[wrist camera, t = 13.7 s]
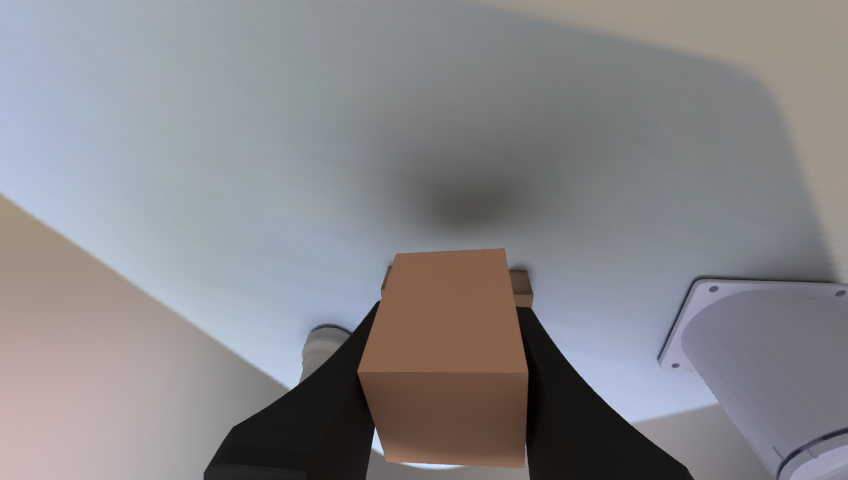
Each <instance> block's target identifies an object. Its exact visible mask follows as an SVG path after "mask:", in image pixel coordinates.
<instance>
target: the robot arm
mask: <svg viewBox="0 0 848 480" xmlns="http://www.w3.org/2000/svg"><path fill="white" fill-rule="evenodd" d="M712 286H714V287H712ZM711 287H712V288H711ZM379 304H380V301H378V302H377V303H376V304H375V305H374V307H373V308H372V309H371V311H370V312H369V313H368V314H367V316H366V317H365V318H364V320H363V321H362V322H361V323H360V325H359V326H358V327H357V328H356V329H355V331H354V332H353V333H352V334H351V335H350V336H349V338H348V339H347V340H346V341H345V342H344V343H343V344H342V345H341V346H340V347H339V348H338V349H337V350H336V352H335V353H334V354H333V355H332V356H331V357H330V358H329V359H327V360H326V361H325V362H324V363H323V364H322V365H321V366H320V367H319V368H318V369H317V370H316V371H314V372H313V373H312V374H311V375H310V376H308V377H307V378H306V379H305V380H304V381H302V382H301V383H300V384H299V385H297V386H296V387H295V388H293V389H292V390H291V391H289V392H288V393H287V394H285V395H284V396H282V397H281V398H280V399H278V400H277V401H275V402H274V403H272V404H271V405H269V406H268V407H266V408H265V409H263V410H261V411H260V412H258V413H257V414H255V415H253V416H251V417H250V418H248V419H246V420H245V421H243V422H241V423H239V424H238V425H236V426H234V427H233V428H232V429H231V431H230V432H229V434H228V435H227V436H226V438H225V439H224V441H223V442H222V444H221V446H220V447H219V449H218V450H217V452H216V454H215V456H214V457H213V459H212V460H211V462H210V464H209V465H208V467H207V469H206V470H205V472H204V480H366V474H367V468H368V462H369V457H370V451H371V446H372V441H373V435H374V430H375V424H374V421H373V418H372V415H371V412H370V409H369V406H368V403H367V400H366V397H365V394H364V391H363V388H362V385H361V382H360V379H359V376H358V373H357V371H358V368H359V365H360V362H361V359H362V356H363V353H364V350H365V347H366V344H367V341H368V338H369V335H370V332H371V329H372V326H373V323H374V320H375V317H376V314H377V310H378V307H379ZM516 311H517V317H518V322H519V327H520V332H521V337H522V342H523V348H524V353H525V358H526V363H527V368H528V394H527V419H526V449H527V457H528V466H529V476H530V480H694V479H693V477H692V476H691V474H690V473H689V471H688V469H687V468H686V467H685V466H684V465H682V464H681V463H680V462H678V461H677V460H676V459H674V458H673V457H672V456H670V455H669V454H667V453H666V452H665V451H663V450H662V449H661V448H659V447H658V446H657V445H655V444H654V443H653V442H651V441H650V440H649V439H647V438H646V437H645V436H644V435H643V434H641V433H640V432H639V431H638V430H636V429H635V428H634V427H633V426H631V425H630V424H629V423H628V422H627V421H626V420H625V419H624V418H622V417H621V416H620V415H619V414H618V413H617V412H616V411H615V410H614V409H612V408H611V407H610V406H609V405H608V404H607V403H606V402H605V401H604V400H603V399H602V398H601V397H600V396H599V395H598V394H597V393H596V392H595V391H594V390H593V389H592V388H591V387H590V386H589V385H588V384H587V383H586V382H585V381H584V379H583V378H582V377H581V376H580V375H579V374H578V373H577V371H576V370H575V369H574V368H573V367H572V366H571V364H570V363H569V362H568V361H567V359H566V358H565V357H564V356H563V354H562V353H561V352H560V350H559V349H558V348H557V346H556V345H555V344H554V342H553V341H552V339H551V338H550V337H549V335H548V334H547V332H546V331H545V329H544V328H543V326H542V325H541V323H540V322H539V320H538V318H537V317H536V315H535V313H534V312H533V310H532V309H531V308H530V307H516ZM658 363H659V365H660V366H661V368H663V369H669V370H686V371H697V372H698V373H699V374H700V376H701V377H702V379H703V380H704V381H705V383H706V384H707V386H708V387H709V388H710V390H711V391H712V393H713V394H714V395H715V397H716V398H717V400H718V401H719V403H720V404H721V405H722V407H723V408H724V409H725V411H726V412H727V414H728V415H729V417H730V418H731V419H732V421H733V422H734V423H735V425H736V426H737V428H738V429H739V431H740V432H741V433H742V435H743V436H744V438H745V439H746V440H747V442H748V443H749V445H750V446H751V447H752V449H753V450H754V452H755V453H756V454H757V455H758V457H759V458H760V460H761V461H762V463H763V464H764V465H765V467H766V468H767V470H768V471H769V473H770V474H771V475H772V477H773V478H774V480H848V284H840V283H809V282H778V281H746V280H715V279H702V280H699V281H697V282H695V283H694V285H693V287H692V289H691V291H690V293H689V295H688V298H687V300H686V302H685V304H684V306H683V309H682V311H681V313H680V315H679V317H678V319H677V322H676V324H675V326H674V328H673V330H672V333H671V335H670V337H669V339H668V341H667V343H666V346H665V348H664V350H663V352H662V354H661V357H660V359H659V361H658Z"/></svg>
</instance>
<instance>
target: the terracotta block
mask: <svg viewBox="0 0 848 480" xmlns="http://www.w3.org/2000/svg"><path fill="white" fill-rule="evenodd" d="M357 373H358V376H359V379H360V382H361V385H362V388H363V391H364V394H365V397H366V400H367V403H368V406H369V409H370V412H371V415H372V418H373V421H374V424H375V427H376V430H377V433H378V436H379V439H380V443H381V446H382V449H383V452H384V455H385V458H386V461H387V462H405V463H427V464H448V465H469V466H493V467H512V468H525V444H526V419H527V394H528V368H527V363H526V358H525V353H524V348H523V342H522V337H521V332H520V327H519V322H518V317H517V311H516V306H515V301H514V296H513V291H512V286H511V280H510V275H509V270H508V265H507V260H506V255H505V250H504V248H501V249H482V250H462V251H443V252H423V253H403V254H396V256H395V259H394V262H393V265H392V268H391V271H390V274H389V277H388V280H387V283H386V286H385V289H384V292H383V295H382V298H381V301H380V304H379V307H378V310H377V314H376V317H375V320H374V323H373V326H372V329H371V332H370V335H369V338H368V341H367V344H366V347H365V350H364V353H363V356H362V359H361V362H360V365H359V368H358V371H357Z"/></svg>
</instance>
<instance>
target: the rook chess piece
mask: <svg viewBox="0 0 848 480" xmlns="http://www.w3.org/2000/svg"><path fill="white" fill-rule="evenodd" d="M349 336H350V335H349V334H348V333H347V332H345V331H343V330H341V329H338V328H333V327H325V328H321V329H318V330H315V331H314V332H312V333H311V334H310V335H309V336H308V338H307V341H306V344H305V345H304V348H303V351H302V358H303V362H302V365H303V372H302V375H301V378H300V381H299V384H300V383H301V382H302V381H304V380H305V379H306V378H307V377H308V376H310V375H311V374H312V373H313V372H314V371H316V370H317V369H318V368H319V367H320V366H321V365H322V364H323V363H324V362H325V361H326V360H327V359H329V358H330V357H331V356H332V355H333V354H334V353H335V352H336V350H337V349H338V348H339V347H340V346H341V345H342V344H343V343H344V342H345V341H346V340H347V339H348V338H349ZM299 384H298V385H299Z"/></svg>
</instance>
